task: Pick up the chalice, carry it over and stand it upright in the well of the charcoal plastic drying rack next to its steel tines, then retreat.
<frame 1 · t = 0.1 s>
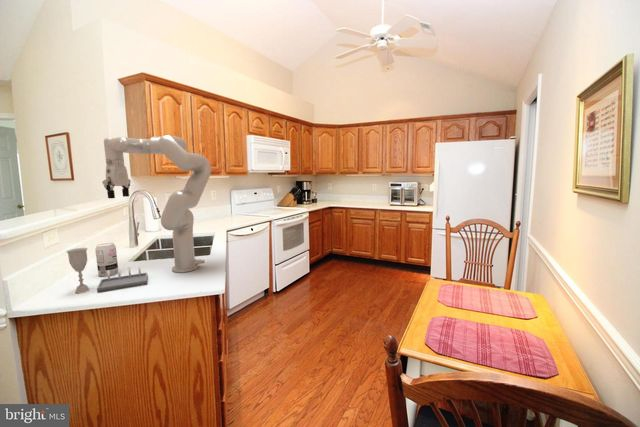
hand: (119, 197, 152), 37 cm above the counter, tool pointing down, fingers open, 9 cm apart
chalice: (82, 291, 127), on the counter
supplement can: (108, 274, 147), on the counter
drying rack: (124, 284, 134), on the counter
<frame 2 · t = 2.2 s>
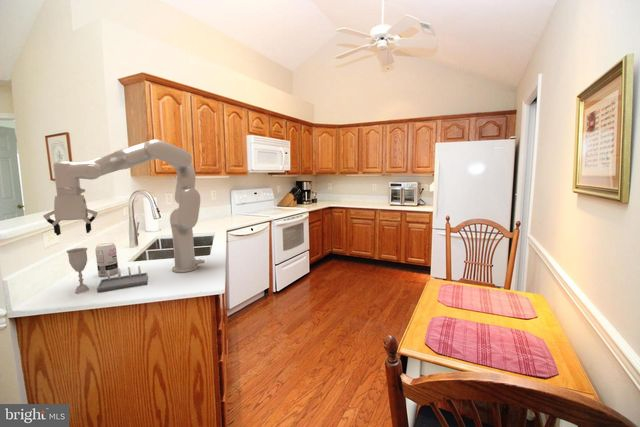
hand: (73, 233, 123), 25 cm above the counter, tool pointing down, fingers open, 9 cm apart
nothing on the counter moved.
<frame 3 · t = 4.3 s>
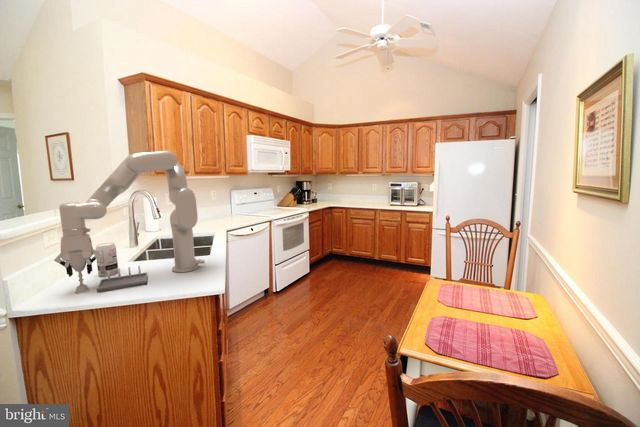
hand: (80, 273, 126), 8 cm above the counter, tool pointing down, fingers closed on chalice, 5 cm apart
chalice: (82, 291, 127), on the counter, touching gripper
everything else where it was.
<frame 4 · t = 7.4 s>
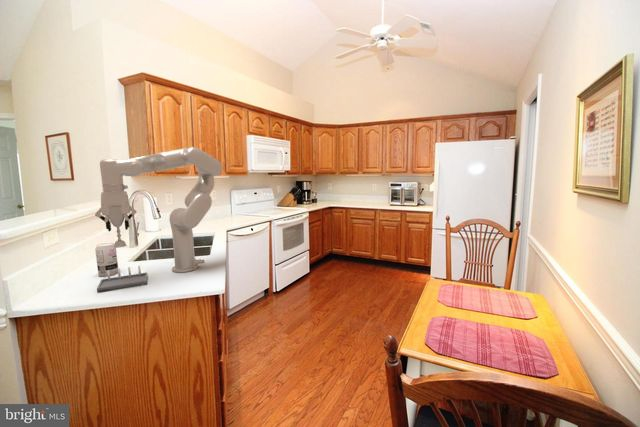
hand: (118, 229, 130), 25 cm above the counter, tool pointing down, fingers closed on chalice, 5 cm apart
chalice: (120, 246, 131), point 17 cm above the counter, touching gripper
everything else where it was.
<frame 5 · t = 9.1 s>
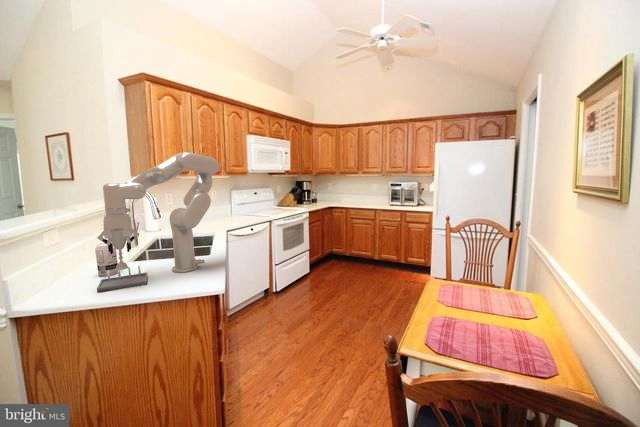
hand: (120, 252, 132), 15 cm above the counter, tool pointing down, fingers closed on chalice, 5 cm apart
chalice: (121, 268, 133), point 7 cm above the counter, touching gripper
everything else where it was.
when the fingers open (10 cm above the counter, at t = 10.6 s): chalice drops 1 cm, resting on drying rack.
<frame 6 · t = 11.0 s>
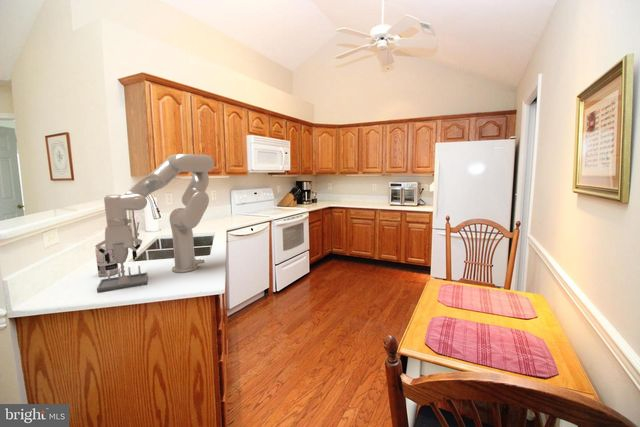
hand: (121, 261, 132), 11 cm above the counter, tool pointing down, fingers open, 9 cm apart
chalice: (124, 282, 134), point 1 cm above the counter, touching drying rack
everything else where it was.
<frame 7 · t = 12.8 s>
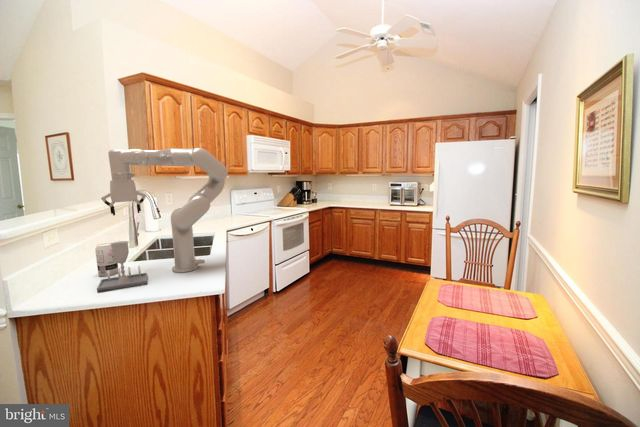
hand: (126, 213, 139), 31 cm above the counter, tool pointing down, fingers open, 9 cm apart
nothing on the counter moved.
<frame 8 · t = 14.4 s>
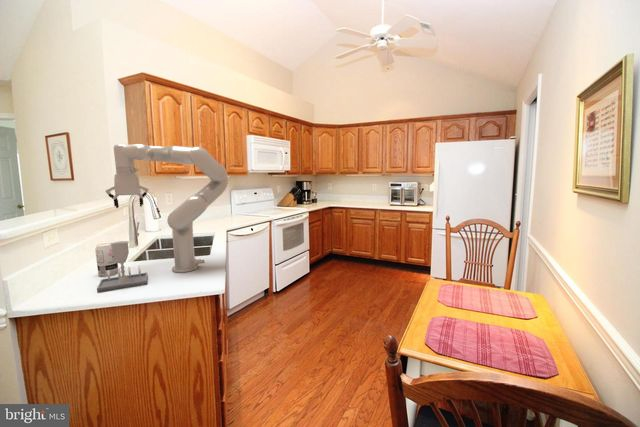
hand: (129, 207, 143), 33 cm above the counter, tool pointing down, fingers open, 9 cm apart
nothing on the counter moved.
at the end: chalice inside the target area on the drying rack (0.1 cm from its centre), point 0.8 cm above the drying rack's base; chalice tilted 0°; the gripper is holding nothing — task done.
